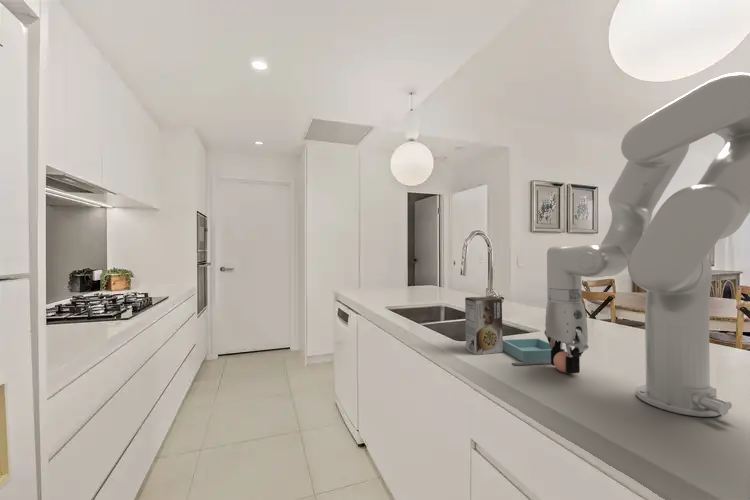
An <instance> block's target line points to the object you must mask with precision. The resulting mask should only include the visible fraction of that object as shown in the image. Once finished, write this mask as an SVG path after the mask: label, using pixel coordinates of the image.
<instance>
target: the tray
mask: <svg viewBox="0 0 750 500" xmlns="http://www.w3.org/2000/svg"><path fill="white" fill-rule="evenodd" d="M561 349H563V350H564V351H565V352H566V349H565V348H563V347H562V348H561ZM551 350H552V349H550V347H549V342H548V341H546V340H543V339H542V338H538V337H537V338H536V337H535V338H514V339H512V338H511V339H509V338H508V339H503V351H504V353H506V354H508V355H509V356H511V357H514V358H515V359H517V360H519V361H520V362H521V363H524V362H546V361H551Z"/></svg>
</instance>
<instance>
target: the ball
mask: <svg viewBox="0 0 750 500" xmlns="http://www.w3.org/2000/svg"><path fill="white" fill-rule="evenodd" d="M566 356H568V354H567V351H566V350H565V351H562V352H558V353H557V354H556V355H555V356H554V359H553V361H554V365H555V366H554V367H555V368H556V369H557V370H558V371H559V372H561V373H566Z"/></svg>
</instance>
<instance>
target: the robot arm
mask: <svg viewBox="0 0 750 500" xmlns="http://www.w3.org/2000/svg"><path fill="white" fill-rule="evenodd" d="M712 134H715V135H717V136H719V137H721V138H722V139H723V140H724V145H723V147H722V149H721V150H720V152H719V153H718V154H717V155H716V156H715V157H714V158H713V160H712V161H711V162H710V164H709V165H708V167H707V169H706V171H705V172H704V174H703V176H702V177H701V178H700V179H699V180H698V182H697V184H696V185H691V186H687V187H684V188H682V189H679V190H678V191H676V192H674V193H673V194H672V195H670V196H669V197H668V198H667V199H666V200H665V201H664V202H663V203H662V204H661V206H660V207H659V209H658V210H657V211H656V213H655V215H654V216H653V212H654V210H655V208H656V206H657V205H658V203H659V202H660V199H661V198H662V196H663V194H664V193H665V191H666V190H667V188H668V186H669V184H670V183H671V181H672V179H673V178H674V176H675V175H676V172H677V171H678V170H679V168H680V166H681V165H682V163H683V162H684V160H685V158H686V156H687V154H688V152H689V148H690V144H692V143H694V142H697V141H699V140H701V139H703V138H705V137H709V135H712ZM620 149H621V154H622V155H623V157H624V158H625V159H626V160H627V162H626V164H625V165H624V167H623V169H622V171H621V173H620V175H619V177H618V179H617V181H616V182H615V184H614V186H613V188H612V189H611V192H610V193H609V195H608V204H609V207H610V210H611V222H610V225H609V228H608V231H607V232H606V235H605V236H604V238H603V240H602V242H601V243H600V244H586V245H579V246H573V245H570V246H568V245H562V246H561V245H560V246H558V245H555V246H551V247H549V248H548V249H547V251H546V280H547V281H546V285H547V286H546V293H547V294H546V296H547V297H546V299H547V300H546V301H547V302H546V310H545V325H544V326H545V330H544V333H543V334H544V335H545V337H546V338H547V339H546V340H547V342H548V343H549V347H550V349H552V350H551V364H550V365H551V366H554V367H555V365H554V361H553V359H554V356H555V355H556V354H557V353H558V352H562V351H564V350H563V349H564V348H563V344H565V348H566V349H565V350H566V352H567V354H568V356H566V372H565V373H566V374H570V375H571V374H579V373H580V371H581V370H580V369H581V367H580V366H581V365H580V363H581V362H580V358H581V357H582V354H583V353H584V352H585V351H587V350H588V349H589V345H588V342H589V341H588V340H589V331H588V330H589V329H588V320H587V314H586V313H587V311H586V309H585V303H583V301H582V290H583V289H582V286H583V285H582V284H583V283H582V277H583V278H584V277H585V278H592V279H593V278H596V279H597V278H603V277H612V276H616V275H618V274H621V273H622V272H623V271H624V270H625V269H627V271H628V274H629V277H630V279H631V280H632V282H633V283H634V284H635V285H636V286H637V287H638V288H641V289H642V290H645V291H646V295H645V303H644V336H645V337H644V342H645V344H644V345H645V346H644V347H645V355H644V356H645V357H644V358H645V361H644V362H645V384H642V385H639V386H638V387H636V389H635V391H636V396H637V397H638V398H639V399H640V400H641V401H643V402H645V403H647V404H648V405H651V406H653V407H656V408H659V409H661V410H664V411H668V412H672V413H675V414H681V415H686V416H693V417H702V418H704V417H705V418H710V417H711V418H712V417H717V416H720V415H721V416H726V415H727V414H728V413H729V410H730V409H732V408H733V407H732V406H733V405H732V402H731V401H728V400H726V399H723V398H720V397H718V396H717V387H713V386H711V374H710V373H711V370H710V369H711V367H710V366H711V365H710V364H711V363H710V362H711V361H710V355H711V354H710V304H711V303H710V299H711V298H710V297H711V288H712V277H713V270H712V265H711V262H710V259H709V257H708V255H709V254H710V252H711V251H712V250H713V248H714V247H715V245H716V244H717V243H718V241H720V240H722V239H725V238H727V237H730V236H731V235H733V234H735V233H736V232H737V231H738V230H739V229H740V228H741V226H743V224H744V222H745V220H746V219H747V217H748V216H749V214H750V73H748V72H732V73H726V74H724V75H721V76H718V77H715V78H713V79H710V80H708V81H707V82H704V83H703V84H701V85H699V86H697V87H696V88H694V89H692V90H690V91H689V92H687V93H686V94H684V95H682V96H680V97H678V98H677V99H675V100H673V101H671V102H669V103H668V104H666V105H664V106H663V107H661V108H660V109H657V110H656V111H654V112H653V113H651V114H649V115H648V116H646V117H644V118H643V119H641V120H640V121H639V122H637V123H635V124H634V125H633V126H632V127H631V128H629V130H628V131H627V132H626V134H625V135H624V137H623V138H622V141H621V145H620ZM652 216H653V218H652ZM572 347H574V348H572ZM561 348H563V349H561Z"/></svg>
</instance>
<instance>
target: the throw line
mask: <svg viewBox="0 0 750 500" xmlns="http://www.w3.org/2000/svg"><path fill="white" fill-rule="evenodd" d="M511 365H512V366H514V367H525V366H545V365H551V361H539V362H512V363H511Z"/></svg>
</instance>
